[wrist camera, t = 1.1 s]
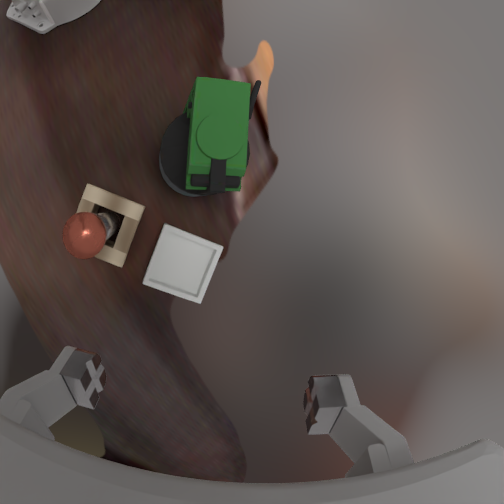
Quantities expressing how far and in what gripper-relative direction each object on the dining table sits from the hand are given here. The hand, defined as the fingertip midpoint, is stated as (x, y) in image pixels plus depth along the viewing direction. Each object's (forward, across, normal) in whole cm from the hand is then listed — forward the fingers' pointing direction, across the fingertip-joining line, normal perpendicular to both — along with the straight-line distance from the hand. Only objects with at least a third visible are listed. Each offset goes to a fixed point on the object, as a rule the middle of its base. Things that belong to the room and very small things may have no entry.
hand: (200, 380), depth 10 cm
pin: (+32, +20, +5) cm, 38 cm away
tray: (+34, +8, +12) cm, 37 cm away
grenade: (+38, +8, -4) cm, 40 cm away
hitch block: (+32, +20, +5) cm, 38 cm away
